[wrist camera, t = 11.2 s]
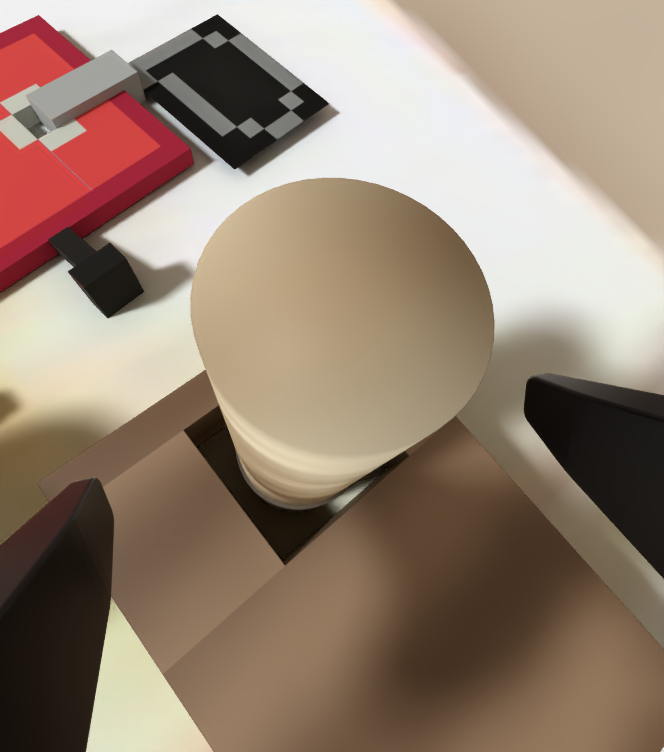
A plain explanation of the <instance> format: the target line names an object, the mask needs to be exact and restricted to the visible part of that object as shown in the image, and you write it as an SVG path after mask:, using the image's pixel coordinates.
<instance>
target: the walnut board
mask: <svg viewBox="0 0 664 752" xmlns="http://www.w3.org/2000/svg"><path fill="white" fill-rule="evenodd" d="M226 425H227V424H226V422H225V419H224V416H223V414H222V411H221V409H220V406H219V403H218V401H217V398H216V395H215V393H214V390H213V387H212V385H211V382H210V379H209V377H208V374H207V371H206V370H205V371H203V372H202V373H200V374H199V375H197V376H196V377H194V378H193V379H191V380H190V381H188V382H187V383H185V384H184V385H182V386H181V387H179V388H178V389H176V390H175V391H173V392H172V393H170V394H169V395H167V396H166V397H164V398H163V399H161V400H160V401H158V402H157V403H155V404H154V405H153V406H151V407H150V408H148V409H147V410H145V411H144V412H142V413H141V414H139V415H138V416H136V417H135V418H133V419H132V420H130V421H129V422H127V423H126V424H124V425H123V426H121V427H120V428H118V429H117V430H115V431H114V432H112V433H111V434H109V435H108V436H106V437H105V438H103V439H102V440H100V441H99V442H98V443H96V444H95V445H93V446H92V447H90V448H89V449H87V450H86V451H84V452H83V453H81V454H80V455H78V456H77V457H75V458H74V459H72V460H71V461H69V462H68V463H66V464H65V465H63V466H62V467H60V468H59V469H57V470H56V471H54V472H53V473H51V474H50V475H48V476H47V477H45V478H44V479H43V480H41V481H40V482H38V483H37V485H38V486H39V488H40V489H41V491H42V492H43V494H44V495H45V497H46V498H47V500H48V501H49V502H50V501H51V500H52V499H53V498H55V497H56V496H57V495H58V494H59V493H60V492H61V491H62V490H64V489H65V488H66V487H67V486H68V485H69V484H70V483H72V482H74V481H77V480H81V479H86V478H90V477H96V478H98V479H99V480H100V482H101V484H102V486H103V489H104V491H105V494H106V496H107V499H108V501H109V503H110V506H111V508H112V511H113V515H114V542H113V567H112V590H111V597H112V598H113V600H114V601H115V603H116V604H117V606H118V607H119V609H120V610H121V612H122V613H123V615H124V616H125V618H126V620H127V621H128V623H129V624H130V626H131V627H132V629H133V630H134V632H135V633H136V635H137V636H138V638H139V639H140V641H141V642H142V644H143V645H144V647H145V648H146V650H147V651H148V653H149V654H150V656H151V657H152V659H153V660H154V662H155V663H156V665H157V667H158V668H159V670H160V671H161V673H162V674H163V676H164V677H165V679H166V680H167V682H168V683H169V685H170V686H171V688H172V689H173V691H174V692H175V694H176V695H177V697H178V698H179V700H180V701H181V703H182V704H183V706H184V707H185V709H186V710H187V712H188V713H189V715H190V717H191V718H192V720H193V721H194V723H195V724H196V726H197V727H198V729H199V730H200V732H201V733H202V735H203V736H204V738H205V739H206V741H207V742H208V744H209V745H210V747H211V748H212V750H213V751H214V752H660V751H661V750H662V748H663V747H664V649H663V648H662V647H661V646H660V645H659V644H658V643H657V641H656V640H655V639H654V638H653V637H652V636H651V635H650V634H649V632H648V631H647V630H646V629H645V628H644V627H643V626H642V625H641V623H640V622H639V621H638V620H637V619H636V618H635V617H634V616H633V615H632V613H631V612H630V611H629V610H628V609H627V608H626V607H625V606H624V604H623V603H622V602H621V601H620V600H619V599H618V598H617V597H616V595H615V594H614V593H613V592H612V591H611V590H610V589H609V588H608V586H607V585H606V584H605V583H604V582H603V581H602V580H601V579H600V578H599V576H598V575H597V574H596V573H595V572H594V571H593V570H592V569H591V567H590V566H589V565H588V564H587V563H586V562H585V561H584V560H583V558H582V557H581V556H580V555H579V554H578V553H577V552H576V551H575V550H574V548H573V547H572V546H571V545H570V544H569V543H568V542H567V541H566V539H565V538H564V537H563V536H562V535H561V534H560V533H559V532H558V530H557V529H556V528H555V527H554V526H553V525H552V524H551V523H550V522H549V520H548V519H547V518H546V517H545V516H544V515H543V514H542V513H541V511H540V510H539V509H538V508H537V507H536V506H535V505H534V504H533V502H532V501H531V500H530V499H529V498H528V497H527V496H526V495H525V494H524V492H523V491H522V490H521V489H520V488H519V487H518V486H517V485H516V483H515V482H514V481H513V480H512V479H511V478H510V477H509V476H508V474H507V473H506V472H505V471H504V470H503V469H502V468H501V467H500V466H499V464H498V463H497V462H496V461H495V460H494V459H493V458H492V457H491V455H490V454H489V453H488V452H487V451H486V450H485V449H484V448H483V446H482V445H481V444H480V443H479V442H478V441H477V440H476V439H475V437H474V436H473V435H472V434H471V433H470V432H469V431H468V430H467V429H466V427H465V426H464V425H463V424H462V423H461V422H460V421H459V420H458V418H457V417H456V416H454V418H452V419H451V420H450V421H448V422H447V423H446V424H445V425H443V426H442V427H441V428H439V429H438V430H437V431H435V432H433V433H432V434H430V435H429V436H427V437H425V438H424V439H422V440H421V441H419V442H417V443H416V444H414V445H413V446H411V447H410V448H408V449H406V450H405V451H403V452H402V453H400V454H398V455H397V456H395V457H394V458H392V459H391V460H389V461H387V462H386V463H384V464H385V465H386V466H387V467H388V469H387V470H386V471H384V472H383V473H382V474H381V475H380V476H379V477H378V478H376V479H375V480H374V481H373V482H372V483H371V484H370V485H368V486H367V487H366V488H365V489H364V490H363V491H362V492H360V493H359V494H358V495H357V496H356V497H355V498H354V499H352V500H351V501H350V502H349V503H348V504H347V505H346V506H345V507H343V508H342V509H341V510H340V511H339V512H338V513H337V514H335V515H334V516H333V517H332V518H331V519H330V520H329V521H327V522H326V523H325V524H324V525H323V526H322V527H321V528H319V529H318V530H317V531H316V532H315V533H314V534H313V535H311V536H310V537H309V538H308V539H307V540H306V541H305V542H304V543H302V544H301V545H300V546H299V547H298V548H297V549H296V550H294V551H293V552H292V553H291V554H290V555H289V556H288V557H286V558H285V559H284V560H283V561H282V560H281V559H280V557H279V556H278V555H277V553H276V552H275V551H274V549H273V548H272V547H271V545H270V544H269V543H268V541H267V540H266V539H265V537H264V536H263V535H262V533H261V532H260V531H259V529H258V528H257V527H256V525H255V524H254V523H253V521H252V520H251V519H250V517H249V516H248V515H247V513H246V512H245V511H244V509H243V508H242V507H241V505H240V504H239V503H238V501H237V500H236V499H235V497H234V496H233V495H232V493H231V492H230V491H229V489H228V488H227V487H226V485H225V484H224V483H223V481H222V480H221V479H220V477H219V476H218V475H217V473H216V472H215V471H214V469H213V468H212V467H211V465H210V464H209V463H208V461H207V460H206V459H205V457H204V456H203V455H202V453H201V452H200V451H199V449H198V448H197V446H199V445H200V444H202V443H203V442H204V441H206V440H207V439H208V438H210V437H211V436H213V435H214V434H215V433H217V432H218V431H219V430H221V429H222V428H223V427H225V426H226Z"/></svg>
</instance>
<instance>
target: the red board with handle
mask: <svg viewBox="0 0 664 752" xmlns="http://www.w3.org/2000/svg"><path fill="white" fill-rule="evenodd" d="M143 90H144V91H145V92H146V93H147V94H148V95H149V96H150V97H152V98H153V99H154V100H155V101H156V102H157V103H159V104H160V105H161V106H162V107H163V108H164V109H165V110H167V111H168V112H169V113H170V114H171V115H172V116H174V117H175V118H176V119H177V120H178V121H179V122H180V123H182V124H183V125H184V126H185V127H186V128H187V129H189V130H190V131H191V132H192V133H193V134H194V135H195V136H197V137H198V138H199V139H200V140H201V141H202V142H204V143H205V144H206V145H207V146H208V147H209V148H210V149H212V150H213V151H214V152H215V153H216V154H217V155H218V156H220V157H221V158H222V159H223V160H224V161H225V162H227V163H228V164H229V165H230V166H231V167H232V168H233V169H236V168H237V167H239V166H240V165H242V164H243V163H245V162H246V161H248V160H249V159H250V158H252V157H253V156H255V155H256V154H258V153H259V152H260V151H262V150H263V149H265V148H266V147H268V146H269V145H270V144H272V143H273V142H275V141H276V140H278V139H279V138H281V137H282V136H283V135H285V134H286V133H288V132H289V131H291V130H292V129H293V128H295V127H296V126H298V125H299V124H301V123H302V122H303V121H305V120H306V119H308V118H309V117H311V116H312V115H314V114H315V113H316V112H318V111H319V110H321V109H322V108H324V107H325V106H326V105H328V104H329V103H328V102H327V101H325V100H324V99H323V98H322V97H320V96H319V95H318V94H317V93H315V92H314V91H313V90H312V89H310V88H309V87H308V86H307V85H305V84H304V83H303V82H302V81H300V80H299V79H298V78H297V77H295V76H294V75H293V74H292V73H290V72H289V71H288V70H287V69H285V68H284V67H283V66H282V65H280V64H279V63H278V62H277V61H275V60H274V59H273V58H272V57H270V56H269V55H268V54H267V53H265V52H264V51H263V50H262V49H260V48H259V47H258V46H257V45H255V44H254V43H253V42H252V41H250V40H249V39H248V38H247V37H245V36H244V35H243V34H241V33H240V32H239V31H238V30H236V29H235V28H234V27H233V26H231V25H230V24H229V23H228V22H226V21H225V20H224V19H223V18H221V17H220V16H219V15H218V14H217V15H215V16H214V17H212V18H210V19H208V20H206V21H204V22H203V23H201V24H199V25H197V26H195V27H193V28H192V29H190V30H188V31H186V32H184V33H182V34H181V35H179V36H177V37H175V38H173V39H171V40H170V41H168V42H166V43H164V44H162V45H160V46H159V47H157V48H155V49H153V50H151V51H149V52H148V53H146V54H144V55H142V56H140V57H138V58H137V59H135V60H133V61H131V62H129V63H127V62H125V61H124V60H123V59H122V58H121V57H120V56H118V55H117V54H116V53H115V52H114V51H113V50H110V51H109V52H107V53H105V54H103V55H101V56H99V57H97V58H95V59H93V60H92V61H91V60H89V59H88V58H87V57H86V56H85V55H84V54H83V53H81V52H80V51H79V50H78V49H77V48H76V47H75V46H73V45H72V44H71V43H70V42H69V41H68V40H67V39H65V38H64V37H63V36H62V35H61V34H60V33H59V32H57V31H56V30H55V29H54V28H53V27H52V26H51V25H49V24H48V23H47V22H46V21H45V20H44V19H43V18H41V17H40V16H39V15H38V16H36V17H34V18H31V19H29V20H27V21H25V22H23V23H21V24H19V25H17V26H14V27H12V28H10V29H8V30H6V31H4V32H2V33H0V293H1V292H2V291H4V290H5V289H7V288H8V287H10V286H11V285H13V284H14V283H16V282H17V281H19V280H20V279H22V278H23V277H25V276H26V275H28V274H29V273H31V272H32V271H34V270H35V269H37V268H38V267H40V266H41V265H43V264H44V263H46V262H47V261H49V260H50V259H52V258H53V257H55V256H56V255H58V254H60V255H61V256H62V257H63V258H65V259H66V260H67V261H68V262H69V263H70V264H71V265H72V266H73V267H74V268H72V269H71V270H69V271H68V273H69V274H70V275H71V276H72V278H73V279H74V280H75V281H76V283H77V284H78V285H79V287H80V288H81V289H82V290H83V292H84V293H85V294H86V295H87V297H88V298H89V299H90V300H91V302H92V303H93V304H94V305H95V306H96V307H97V308H98V309H99V310H100V311H101V312H102V313H103V314H104V315H105V316H106V317H107V318H109V317H111V316H112V315H113V314H115V313H116V312H117V311H119V310H120V309H121V308H123V307H124V306H125V305H127V304H128V303H130V302H131V301H132V300H134V299H135V298H136V297H138V296H139V295H140V294H142V293H143V292H144V290H143V288H142V287H141V285H140V283H139V281H138V279H137V277H136V276H135V274H134V272H133V270H132V268H131V267H130V265H129V263H128V261H127V259H126V258H125V257H124V256H123V255H122V254H121V253H120V252H119V251H118V250H117V249H116V248H115V247H114V246H113V245H112V244H111V243H109V244H107V245H106V246H104V247H103V248H102V249H100V250H99V251H97V252H96V251H95V250H94V249H93V248H92V247H91V246H90V245H88V244H87V243H86V242H85V241H84V240H83V239H82V238H83V237H85V236H86V235H88V234H89V233H91V232H92V231H94V230H95V229H97V228H98V227H100V226H101V225H103V224H104V223H106V222H107V221H109V220H110V219H112V218H113V217H115V216H116V215H118V214H119V213H121V212H122V211H124V210H125V209H127V208H128V207H130V206H131V205H133V204H134V203H136V202H137V201H139V200H140V199H142V198H143V197H145V196H146V195H148V194H149V193H151V192H152V191H154V190H155V189H157V188H158V187H160V186H161V185H163V184H164V183H166V182H167V181H169V180H170V179H172V178H173V177H175V176H176V175H178V174H179V173H181V172H182V171H184V170H185V169H187V168H188V167H190V166H191V165H193V164H194V161H193V157H192V152H191V148H190V147H189V146H188V145H186V144H185V143H184V142H183V141H182V140H181V139H180V138H178V137H177V136H176V135H175V134H174V133H173V132H172V131H170V130H169V129H168V128H167V127H166V126H165V125H164V124H162V123H161V122H160V121H159V120H158V119H157V118H156V117H154V116H153V115H152V114H151V113H150V112H149V111H148V110H147V109H145V108H144V107H143V106H142V105H141V104H140V103H142V102H144V101H145V100H146V98H145V95H144V92H143ZM40 122H41V123H42V124H43V125H44V126H45V127H46V128H47V129H48V130H49V131H50V132H49V133H48V134H46V135H44V136H42V137H41V138H39V139H38V138H37V137H35V136H34V135H33V134H32V133H31V132H30V131H29V130H28V129H29V128H31V127H32V126H34V125H36V124H38V123H40Z"/></svg>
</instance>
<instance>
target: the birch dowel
mask: <svg viewBox="0 0 664 752" xmlns="http://www.w3.org/2000/svg"><path fill="white" fill-rule="evenodd" d="M191 320H192V326H193V332H194V337H195V340H196V343H197V346H198V349H199V352H200V355H201V358H202V361H203V363H204V366H205V369H206V371H207V374H208V377H209V379H210V382H211V385H212V387H213V390H214V393H215V395H216V398H217V401H218V403H219V406H220V409H221V411H222V414H223V416H224V419H225V422H226V424H227V427H228V430H229V432H230V435H231V438H232V440H233V443H234V446H235V448H236V457H237V462H238V465H239V468H240V471H241V473H242V475H243V477H244V479H245V481H246V482H247V484H248V485H249V486H250V488H251V489H252V490H253V491H254V492H255V493H256V494H257V496H258V497H259V498H261V499H262V500H263V501H264V502H266V503H267V504H269V505H271V506H273V507H275V508H278V509H281V510H286V511H303V510H307V509H312V508H316V507H319V506H321V505H324V504H326V503H328V502H329V501H331V500H333V499H335V498H336V497H337V496H339V495H340V494H341V493H342V492H343V491H344V490H345V489H346V488H347V487H348V486H349V485H351V484H352V483H354V482H356V481H357V480H359V479H360V478H362V477H364V476H365V475H367V474H368V473H370V472H371V471H373V470H375V469H376V468H378V467H379V466H381V465H383V464H384V463H386V462H387V461H389V460H391V459H392V458H394V457H395V456H397V455H398V454H400V453H402V452H403V451H405V450H406V449H408V448H410V447H411V446H413V445H414V444H416V443H417V442H419V441H421V440H422V439H424V438H425V437H427V436H429V435H430V434H432V433H433V432H435V431H437V430H438V429H439V428H441V427H442V426H443V425H445V424H446V423H447V422H448V421H450V420H451V419H452V418H454V416H455V415H456V414H457V413H458V412H459V411H460V410H461V409H462V408H463V407H464V406H465V405H466V404H467V403H468V401H469V400H470V398H471V397H472V396H473V394H474V393H475V391H476V390H477V388H478V386H479V384H480V382H481V381H482V379H483V377H484V375H485V372H486V369H487V366H488V363H489V360H490V357H491V352H492V347H493V341H494V313H493V304H492V300H491V296H490V292H489V288H488V285H487V283H486V280H485V277H484V275H483V272H482V270H481V268H480V266H479V265H478V263H477V261H476V259H475V257H474V255H473V254H472V253H471V251H470V250H469V248H468V247H467V245H466V244H465V242H464V241H463V240H462V239H461V238H460V237H459V236H458V234H457V233H456V232H455V231H454V230H453V229H452V228H451V227H450V226H449V225H448V224H447V223H446V222H445V221H444V220H442V219H441V218H440V217H439V216H438V215H436V214H435V213H434V212H432V211H431V210H430V209H428V208H427V207H426V206H424V205H422V204H421V203H419V202H417V201H415V200H414V199H412V198H410V197H408V196H406V195H404V194H402V193H399V192H397V191H395V190H393V189H390V188H387V187H384V186H381V185H378V184H374V183H369V182H365V181H360V180H353V179H345V178H317V179H307V180H302V181H297V182H292V183H288V184H285V185H282V186H279V187H276V188H273V189H271V190H268V191H266V192H264V193H262V194H260V195H258V196H256V197H254V198H253V199H251V200H250V201H248V202H247V203H245V204H243V205H242V206H240V207H239V208H238V209H237V210H236V211H235V212H233V213H232V214H231V215H230V216H229V217H228V218H227V219H226V220H225V221H224V222H223V223H222V224H221V225H220V226H219V228H218V229H217V230H216V231H215V233H214V234H213V236H212V237H211V239H210V240H209V242H208V243H207V244H206V246H205V248H204V251H203V253H202V255H201V257H200V259H199V261H198V264H197V268H196V271H195V274H194V278H193V283H192V290H191Z"/></svg>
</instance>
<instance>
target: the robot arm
mask: <svg viewBox="0 0 664 752" xmlns="http://www.w3.org/2000/svg"><path fill="white" fill-rule="evenodd" d="M524 414H525V417H526V419H527V421H528V422H529V423H530V425H531V426H532V427H533V429H534V430H535V431H536V433H537V434H538V435H539V437H540V438H541V439H542V441H543V442H544V443H545V445H546V446H547V448H548V449H549V450H550V452H551V453H552V454H553V456H554V457H555V458H556V460H557V461H558V462H559V463H560V465H561V466H562V467H563V469H564V470H565V471H566V472H567V473H568V474H569V476H570V477H571V478H572V479H573V480H574V481H575V482H576V483H577V485H578V486H579V487H580V488H581V489H582V490H583V491H584V492H585V493H586V494H587V495H588V497H589V498H590V499H591V500H592V501H593V502H594V503H595V504H596V505H597V506H598V507H599V509H600V510H601V511H602V512H603V513H604V514H605V515H606V516H607V517H608V518H609V519H610V521H611V522H612V523H613V524H614V525H615V526H616V527H617V528H618V529H619V530H620V531H621V533H622V534H623V535H624V536H625V537H626V538H627V539H628V540H629V541H630V542H631V543H632V545H633V546H634V547H635V548H636V549H637V550H638V551H639V552H640V553H641V554H642V556H643V557H644V558H645V559H646V560H647V561H648V562H649V563H650V564H651V565H652V566H653V568H654V569H655V570H656V571H657V572H658V573H659V574H660V575H661V576H662V577H663V578H664V395H659V394H654V393H649V392H644V391H639V390H633V389H628V388H623V387H618V386H613V385H607V384H602V383H597V382H592V381H587V380H581V379H576V378H571V377H566V376H561V375H555V374H550V373H544V374H539V375H535V376H532V377H530V378H529V379H528V381H527V384H526V392H525V401H524ZM113 542H114V515H113V511H112V508H111V506H110V503H109V501H108V499H107V496H106V494H105V491H104V489H103V486H102V484H101V482H100V480H99V479H98V478H96V477H90V478H86V479H81V480H77V481H74V482H72V483H70V484H69V485H68V486H67V487H66V488H65V489H64V490H62V491H61V492H60V493H59V494H58V495H57V496H56V497H55V498H53V499H52V500H51V501H50V502H49V503H48V504H47V505H46V506H44V507H43V508H42V509H41V510H40V511H39V512H38V513H37V514H35V515H34V516H33V517H32V518H31V519H30V520H29V521H28V522H26V523H25V524H24V525H23V526H22V527H21V528H20V529H19V530H17V531H16V532H15V533H14V534H13V535H12V536H11V537H10V538H8V539H7V540H6V541H5V542H4V543H3V544H2V545H1V546H0V752H86V748H87V742H88V736H89V730H90V724H91V718H92V712H93V706H94V700H95V694H96V688H97V682H98V676H99V670H100V664H101V658H102V652H103V646H104V640H105V634H106V628H107V622H108V616H109V609H110V602H111V590H112V567H113Z"/></svg>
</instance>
